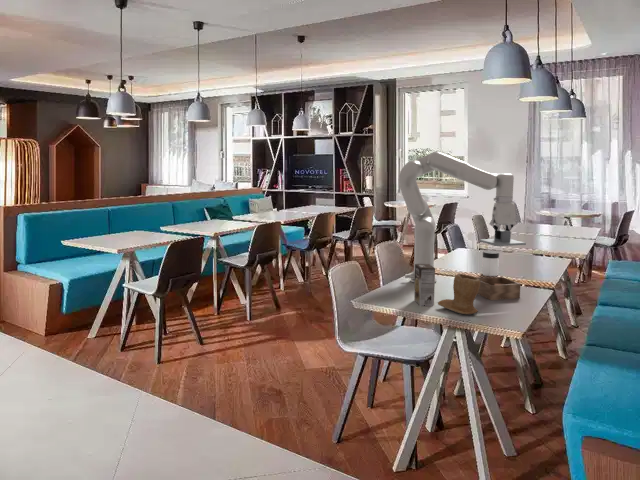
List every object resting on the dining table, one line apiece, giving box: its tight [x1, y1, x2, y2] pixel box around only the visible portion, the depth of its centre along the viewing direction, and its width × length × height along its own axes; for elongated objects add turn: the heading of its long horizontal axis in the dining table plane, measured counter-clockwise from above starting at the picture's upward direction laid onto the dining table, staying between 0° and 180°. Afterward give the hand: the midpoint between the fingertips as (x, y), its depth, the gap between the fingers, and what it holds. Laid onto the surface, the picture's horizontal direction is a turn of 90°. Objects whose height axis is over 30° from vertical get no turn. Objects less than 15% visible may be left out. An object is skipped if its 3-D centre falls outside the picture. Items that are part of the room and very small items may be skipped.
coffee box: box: [413, 264, 436, 307], centre depth 227 cm, size 9×6×16 cm
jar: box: [481, 250, 500, 277], centre depth 281 cm, size 9×8×12 cm
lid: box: [479, 229, 527, 247], centre depth 256 cm, size 15×15×6 cm
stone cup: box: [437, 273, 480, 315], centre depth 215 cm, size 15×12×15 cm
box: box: [477, 276, 521, 301], centre depth 237 cm, size 14×14×7 cm
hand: (502, 238), depth 256 cm, fingers closed on lid, 4 cm apart
